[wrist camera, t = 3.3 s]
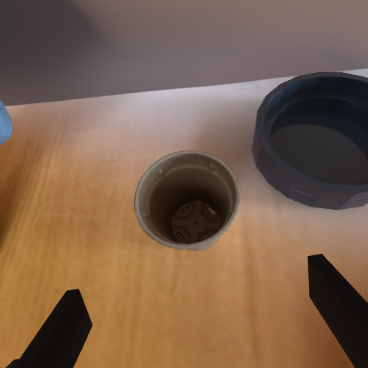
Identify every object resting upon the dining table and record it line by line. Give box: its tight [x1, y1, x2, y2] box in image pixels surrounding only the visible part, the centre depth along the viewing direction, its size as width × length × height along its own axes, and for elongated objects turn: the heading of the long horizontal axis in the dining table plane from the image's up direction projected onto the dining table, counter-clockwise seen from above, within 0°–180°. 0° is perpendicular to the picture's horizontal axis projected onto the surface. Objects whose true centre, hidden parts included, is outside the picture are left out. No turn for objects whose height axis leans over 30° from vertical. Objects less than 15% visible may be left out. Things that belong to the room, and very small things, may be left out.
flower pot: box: [134, 151, 240, 251], centre depth 25 cm, size 9×9×9 cm
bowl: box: [252, 72, 368, 210], centre depth 28 cm, size 17×17×5 cm
